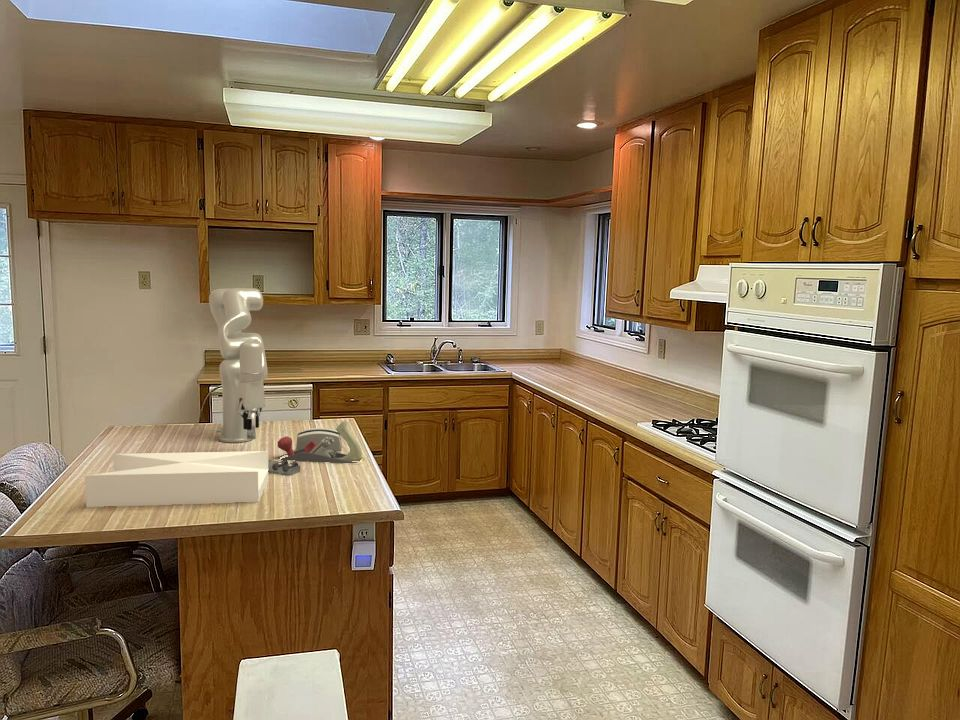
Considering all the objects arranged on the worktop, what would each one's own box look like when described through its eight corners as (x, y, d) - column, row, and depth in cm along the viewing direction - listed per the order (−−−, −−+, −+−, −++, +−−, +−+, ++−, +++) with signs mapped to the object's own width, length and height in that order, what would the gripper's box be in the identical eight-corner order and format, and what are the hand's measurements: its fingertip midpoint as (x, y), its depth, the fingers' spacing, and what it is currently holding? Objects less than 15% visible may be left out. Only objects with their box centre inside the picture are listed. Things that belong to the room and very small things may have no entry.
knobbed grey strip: (210, 463, 228) (210, 454, 228) (225, 458, 235) (225, 450, 235) (288, 476, 217) (288, 466, 216) (302, 470, 223) (302, 461, 223)
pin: (242, 438, 238) (242, 408, 236) (250, 436, 241) (250, 406, 240) (252, 440, 236) (251, 409, 235) (259, 437, 240) (259, 407, 238)
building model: (268, 480, 213) (268, 451, 212) (258, 503, 192) (258, 471, 191) (114, 484, 205) (113, 453, 204) (86, 509, 184) (84, 475, 183)
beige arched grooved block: (342, 448, 254) (342, 425, 249) (342, 455, 249) (341, 432, 245) (296, 448, 251) (295, 426, 246) (295, 456, 246) (294, 433, 242)
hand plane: (361, 465, 233) (361, 422, 231) (274, 460, 235) (273, 418, 233) (366, 459, 240) (367, 418, 238) (281, 455, 242) (281, 414, 240)
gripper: (258, 372, 244) (258, 422, 247) (225, 379, 229) (226, 432, 232) (275, 374, 242) (274, 424, 244) (243, 381, 227) (243, 435, 229)
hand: (251, 427), depth 238 cm, fingers closed on pin, 3 cm apart
